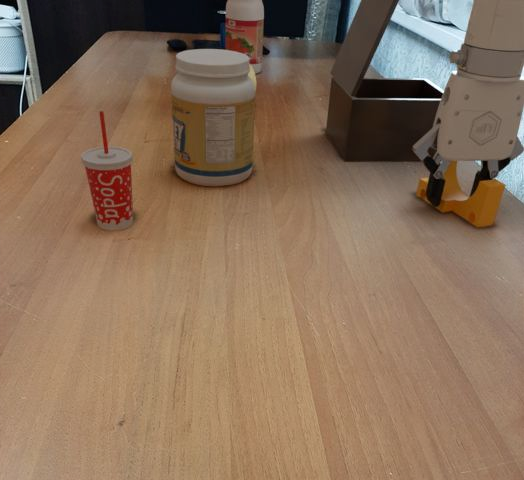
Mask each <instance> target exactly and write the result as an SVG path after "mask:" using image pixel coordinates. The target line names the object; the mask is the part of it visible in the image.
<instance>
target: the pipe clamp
mask: <svg viewBox="0 0 524 480" xmlns="http://www.w3.org/2000/svg"><path fill="white" fill-rule="evenodd" d="M457 164H458V161H451V163H450V165H449V166H448V168H447V170H446V171H445V173H444V175H443V178H444V179H445V185H444V190H443V194H442V198H441V202H440V205H439V206H438V207H434V206H433V205H432V204H431V203H430V202H429V201H428V200H427V197H426V189H427V184H428V180H429V177H421V178H419V180H418V184H417V188H416V193H415V197H419V198H421V199H422V200H423V201H425V202H427V203H428V204H429V205H431V206H432V207H434V208H435V209H436V210H438V211H440V212H441V213H447V212H454V213H455V214H456V215H458V216H460V217H461V218H463V220H465V221H467V222H469V223H470V224H471V225H473V226H474V227H476V228H483V227H489V226H494V222H495V220H496V216H497V213H498V210H499V207H500V204H501V200H502V197H503V195H504V190H505V187H506V184H505V183H503V182H502V181H500V180H498V179H496V178H494V179H493V180H485V181H480V182H479V185H478V187H477V189H476V191H475V193H474V194H473V195H472V196H471V197H470V196H468V195H467V194H465V192H464V191H463V190H462V188H461V186H460V184H459V180H458V173H457V166H458V165H457Z"/></svg>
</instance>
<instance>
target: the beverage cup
mask: <svg viewBox="0 0 524 480" xmlns="http://www.w3.org/2000/svg"><path fill="white" fill-rule="evenodd" d="M104 113H105V112H104V111H103V110H100V111H98V114H99V121H100V129H101V137H102V143H103V146H99V147H93V148H89V149H86V150H85V151H83V152H82V153H81V155H80V159H81V164H82V165H83V166H84V169H85V173H86V177H87V183H88V187H89V192H90V196H91V201H92V206H93V211H94V214H95V220H96V224H97V226H98V227H99V229H102V230H105V231H110V232H113V231H116V232H117V231H122V230H123V231H124V230H126V229H128V228H130V227H132V226H133V224H134V206H133V205H134V204H133V183H132V181H133V180H132V163H133V161H134V160H133V155H134V154H133V153H132V151H131V150H129V149H127V148H124V147H120V146H109V145H108V137H107V128H106V121H105V114H104Z"/></svg>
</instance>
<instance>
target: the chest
mask: <svg viewBox="0 0 524 480" xmlns="http://www.w3.org/2000/svg"><path fill="white" fill-rule="evenodd" d="M329 89H330V90H329V99H328V101H329V102H328V107H327V118H326V125H325V126H326V127H325V135H326V136H327V138H328V139H329V141H330V143H331V144H332V146H333V147H334V148H335V150H336V151H337V152H338V154H339V156H340V157H341V159H342V160H343V162H422V161H421V160H420V159H419V157H418V156H417V155H416V154H415V152H414V151H413V150H412V147H413V145H414V144H416V143H417V142H418V141H419V140H420V139H421V138H422V137H423V136H424V135H425V134H426V133H428V132H429V131H430V130H431V129H432V128H433V124H434V120H435V116H436V113H437V110H438V106H439V103H440V100H441V98H442V95H443V92H444V90H445V89H442V88H441V87H440V86H438V85H437V84H435V83H434V82H433V81H431V80H430V79H428V78H417V77H416V78H415V77H413V78H409V77H407V78H406V77H405V78H404V77H364V78H363V81H362V83H361V85H360V87H359V89H358V92H357V94H356V96H355V97H353V96H351V95H350V94H349V93H348V92H347V91H346V90H345V89H344V88H343V87H342V86H341V85H340V83H339V82H338V81H337V80H336V79H335V78H334V77H333V76H332V77H331V80H330V88H329ZM436 152H437V150H435V149H433V148H432V147H429V149H428V153H429V155H430V156H431V157H432V158H433V157H434V155H435V153H436Z"/></svg>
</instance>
